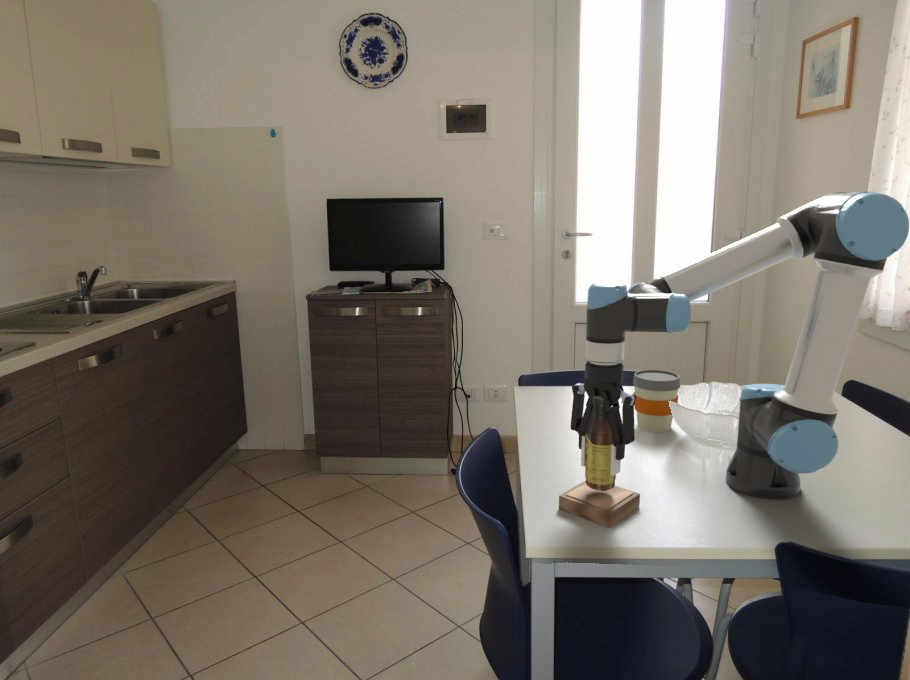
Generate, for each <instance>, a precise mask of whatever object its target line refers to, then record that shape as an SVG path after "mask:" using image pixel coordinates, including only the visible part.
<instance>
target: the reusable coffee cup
mask: <svg viewBox="0 0 910 680" xmlns="http://www.w3.org/2000/svg"><path fill="white" fill-rule="evenodd" d="M633 375H634V376H633V380H632V381H633V382H632V384H633V387H634V391H633V393H632V394H635V395H636V401H635V404H634V411H636V412H635V413H636V420H637V421H636V422H637V428H639V429H640V430H642V431H645V432H650V433H665V432H668V431H670V430H671V429H672V423H673V419H674V415H673V416H672V413H671V409H670V407H669V402H668V401H670V400H671V401H673V402H675V403H677V404H678V402H679V395H678V392H679V389H680V388H681V381H680V380H681V377H680V374H677V373H675V372H673V371H669V370H663V369H643V370H642V369H640V370H638V371H635V372H634V374H633Z"/></svg>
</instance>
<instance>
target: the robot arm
mask: <svg viewBox="0 0 910 680" xmlns="http://www.w3.org/2000/svg"><path fill="white" fill-rule="evenodd" d="M909 230H910V221H909V216H908V213H907V211H906V210H905V208H904V206H903V205H902V204H901V202H899V201H898V200H897V199H896V198H894V197H892V196H890V195H887V194H885V193H879V192H875V191H865V190H864V191H855V192H853V191H851V192H848V191H847V192H846V191H839V192H832V193H828V194H826V195H824V196H821V197H818V198H816V199H815V200H812V201H810V202H808V203H806V204H804V205H802V206H800V207H798V208H796V209H793V210H792V211H790V212H788V213H786V214H784V215H782V216H779V217H778V218H777V219H776V222H775V224H773V225H771V226H768V227H766V228H764V229H762V230H760V231H758V232H756V233H753V234H751V235H749V236H746V237H744V238H742V239H740V240H738V241H735V242H733V243H731V244H728V245H726V246H725V247H722V248H721V249H718V250H716V251H714V252H711V253H709V254H707V255H705V256H702V257H700V258H698V259H696V260H693V261H692V262H689V263H687V264H685V265H682V266H680V267H678V268H676V269H674V270H672V271H670V272H669V271H668V272H667V273H665V274H662V275H661V276H658V277H657V278H654V279H652V280H649V281H646V282H645V281H643V282H641V281H640V282H636V283H634V284H633V285H631V286H630V287H629V288H627V285H626V284H624V283H622V282H610V281H609V282H608V281H606V282H605V281H604V282H595V283H593V284H591V285H590V286H588V287H589V288H588V291H587V301H586V302H587V303H586V318H585V319H586V325H585V327H586V329H585V330H586V331H585V333H586V337H585V352H584V353H585V355H584V357H585V360H586V361H585V362H584V378H585V381H584V382H577V383H576V384H573V385H572V386H571V390H572V391H571V392H572V395H573V397H572V407H571V408H572V409H571V417H570V418H571V419H570V429H571V431H575V432H576V433H577V435H578V448H579V449H580V450H581V453H580V455H581V456H580V461H581V462H580V467H584V468H585V455H586V429H587V427H588V424H589V422H590V420H591V417H592V411H593V408H592V407H593V403H592V397H593V396H596V395H597V396H601V397H602V399H604V400H606V405H605V410H606V412H607V413H608V416H609V420H610V425H611V429H612V433H613V437H614V441H615V443H614V444H612V445H611V464H610V475H612V476H614V475H616V476H617V474H619V473H621V465H622V464H621V461H622V460H623V459H624V458H625V456H626V455H625V451H626V446H628V445H629V444H632V443H633V442H635V441H636V439H635V437H636V434H635V406H634V404H635V401H636V395H635V394H633V393H632V394H629V393H628V392H625V389H624V387H623V381H624V367H625V365H624V362H623V360H624V359H625V340H626V339H625V338H626V333H628V332H630V333H668V334H672V333H679V332H680V333H681V332H682V333H683V332H685V331H686V330H688V328H689V326H690V323H691V317H692V305H691V302H693V301H695V300H697V299H700V298H702V297H705V296H706V295H708V294H711V293H713V292H716V291H717V290H720V289H723V288H724V287H727V286H729V285H731V284H732V285H733V284H734V283H737V282H738V281H740V280H743V279H746V278H747V277H750V276H752V275H754V274H757V273H759V272H761V271H764V270H765V269H768V268H771V267H774V266H775V265H778V264H780V263H781V262H782V263H783V262H784V261H786V260H789V259H795V260H800V259H803V258H806V257H809V256H812V255H813V261H814V262H815V264H816V265H817V267H818V273H817V276H816V280H815V283H814V286H813V290H812V293H811V297H810V300H809V303H808V305H807V310H806V314H805V315H804V316H805V317H804V320H803V322H802V323H803V324H802V327H801V330H800V332H799V336H798V340H797V343H796V347H795V350H794V354H793V357H792V360H791V364H790V366H789V371H788V373H787V377H786V381H785V383H784V384H777V383H752V384H751V383H750V384H746V385H745V386H743V388H742V389H741V395H740V398H739V402H740V403H739V414H738V424H737V425H738V427H737V437H736V438H737V443H736V449H735V450H734V453H733V456H732V457H731V460H730V461H729V464H728V466H727V467H726V472H725V481H726V483H727V484H728V486H730V487H731V488H732V489H733V490H735V491H737V492H739V493H742V494H745V495H748V496H752V497H756V498H762V499H766V500H767V499H769V500H785V499H791V498H794V497H795V496H797V495H799V493H800V492H801V491H800V490H801V478H800V474H801V475H802V474H811V473H816V472H818V471H819V470H821V469H824V468H826V467H827V466H828V465H829V464H831V463H832V461H834V460H835V458H836V455H837V454H838V450H839V439H838V436H837V433H836V431H835V430H834V424H835V421H836V418H837V415H838V411H839V410H838V408H837V406H836V405H835V404H834V402H833V397H834V394H835V391H836V388H837V385H838V382H839V378H840V376H841V373H842V370H843V366H844V362H845V359H846V356H847V353H848V351H849V348H850V344H851V341H852V338H853V334H854V331H855V328H856V326H857V322H858V318H859V316H860V312H861V309H862V306H863V302H864V299H865V297H866V294H867V291H868V288H869V284H870V282H871V279H873V278H875V277H876V276H878V275H880V274H882V273H883V272H884V269H885V266H886V263H887V260H888V258H889V257H891V256H893V254H894V253H896V252H898V251H899V250H900V249H901V248H902V247H903V245H904V244H905V243H906V240H907V238H908V235H909V232H910V231H909ZM585 393H586V394H587V396H588V398H587V400H586V403H585ZM620 399H621V404H622V406H620V401H619V400H620ZM584 406H586V407H585V410H584ZM621 407H622V411H621V412H622V413H621V412H620V408H621Z"/></svg>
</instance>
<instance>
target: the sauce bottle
mask: <svg viewBox="0 0 910 680" xmlns="http://www.w3.org/2000/svg"><path fill="white" fill-rule="evenodd" d="M592 403H593V407H592V408H593V411H592V417H591V420H590V422H589V424H588V427H587V429H586V455H585V467H584V470H585V471H584V478H585V481H586V484H587V486H588V487H590V488H592V489H594V490H599V491H607V490H610V489H612V488H614V486H616V485H615V484H616V480H617V474H616V475H614V476H612V475H610V464H611V445H612V444H614V443H615V441H614V437H613V433H612V429H611V425H610V420H609V416H608V413H607V412H606V410H605V405H606V400H604V399H602V397H601V396H597V395H596V396H593V397H592Z"/></svg>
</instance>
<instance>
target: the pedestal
mask: <svg viewBox="0 0 910 680" xmlns="http://www.w3.org/2000/svg"><path fill="white" fill-rule="evenodd" d="M640 497H641V493H639V492H636V491H632V490H630V489H626V488H624V487H622V486H618V485H615V486H614V488H612V489H610V490H607V491H599V490H594V489H592V488H590V487H588V486H587V484H586V480H584V481H582V482H581V483H579V484H577V485H575V486H573V487H572V488H570V489H568V490H567V491H565V492H562V493H561V494H559V496H558V509H559V510H560V511H564V512H567V513H569V514H571V515H575V516H576V517H580V518H582V519H585V520H587V521H590V522H592V523H593V522H594V523H595V524H599V525H601V526H604V527H606V528H609V529H610V528H611V527H613V526H614V525H615V524H616V523H618V522H620V521H621V520H623V519H624V518H625V517H627V516H629V515H631V514H632V512H634V511H636V510H637V509H638V508H640V504H641V503H640V500H641V499H640Z"/></svg>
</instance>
